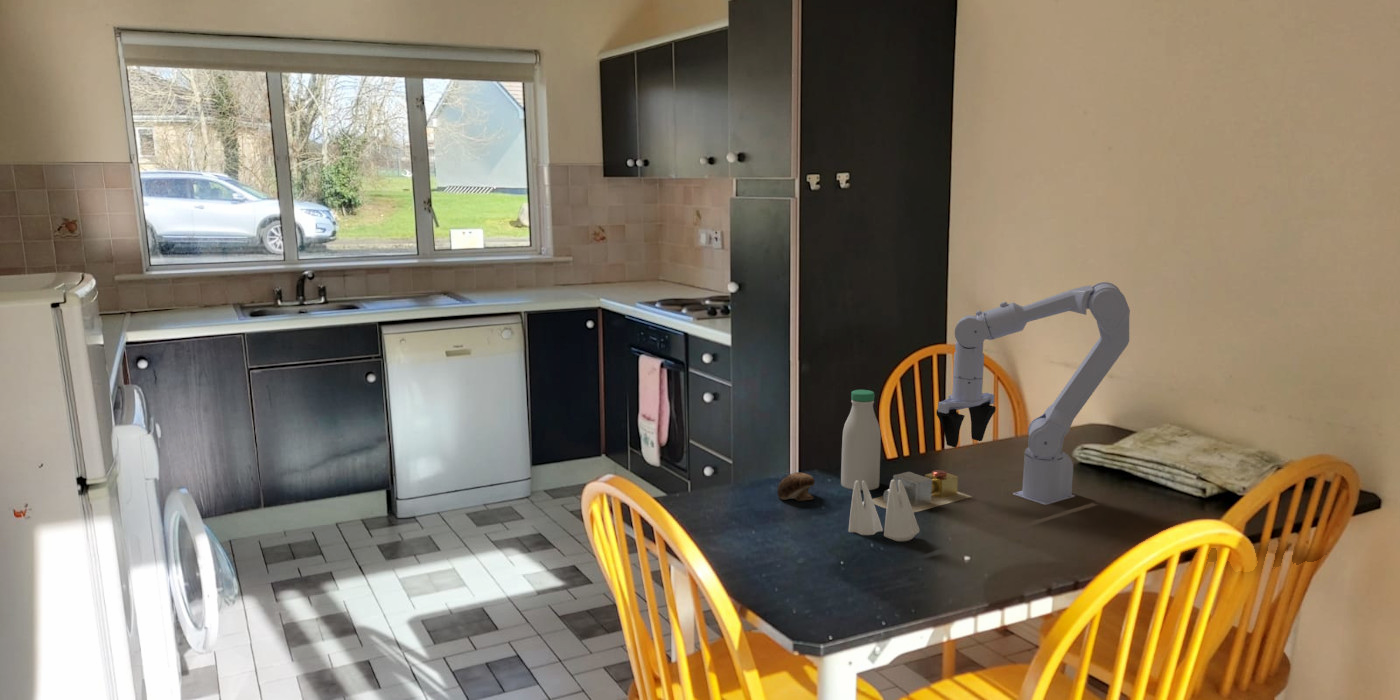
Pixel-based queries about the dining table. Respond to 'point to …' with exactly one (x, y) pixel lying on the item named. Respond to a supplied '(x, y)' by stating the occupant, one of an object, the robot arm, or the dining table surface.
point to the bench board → (934, 503)
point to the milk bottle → (861, 443)
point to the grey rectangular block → (913, 488)
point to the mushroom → (796, 487)
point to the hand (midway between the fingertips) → (964, 442)
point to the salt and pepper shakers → (897, 514)
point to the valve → (943, 483)
